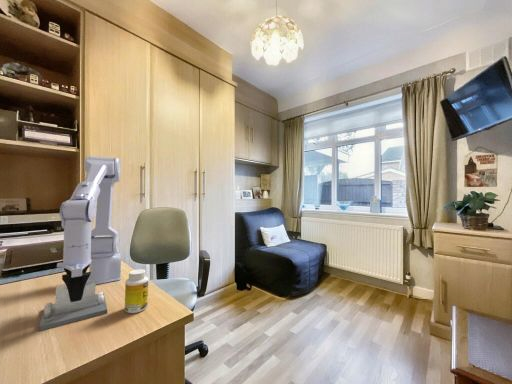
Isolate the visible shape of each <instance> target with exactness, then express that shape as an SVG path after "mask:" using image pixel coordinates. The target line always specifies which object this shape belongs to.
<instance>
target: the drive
mask: <svg viewBox="0 0 512 384" xmlns="http://www.w3.org/2000/svg"><path fill="white" fill-rule="evenodd" d="M95 295H96V285H95V279H92V280H87V282H86V284H85V288H84V292H83V296H82V299H81V300H80V301H75V302H71V301H70V298H69V293H68V289H67V286H66V284H65V283H64V284H59V285H56V289H55V302H54V303H55V315H59V314H63V313H67V312H72V311H76V310H80V309H84V308H88V307H92V306H95Z"/></svg>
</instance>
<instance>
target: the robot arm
mask: <svg viewBox="0 0 512 384" xmlns="http://www.w3.org/2000/svg"><path fill="white" fill-rule="evenodd" d="M121 166H122V165H121V160H120V159H119V157H104V156H103V157H102V156H91V155H87V157H85V159H84V162H83V167H84V171H85V173H86V175H85V177H84V181H81V182H79V183H78V184H77V185H76V187H75V189H74V191H73V193H72V195H71V196H70V198H69V199H68V200H67V199H66V201H63V202H62V203H61V205H60V208H59V218H60V221H61V228H62V229H63V249H62V251H63V254H62V257H63V260H62V261H63V262H57V263H56V268H63V270H64V272H65V274H62V276H61V279H62V281H63V282H64V284H66V286H67V289H68V293H69V298H70V301H71V302H75V301H80V300H81V299H82V296H83V292H84V288H85V284H86V282H87V280H92V279H95V286H96V285H100V284H106V283H111V282H116V281H120V280H121V276H122V275H121V273H122V257H121V253H118V252H119V249H120V233H119V232H118V231H117V230H116V229H114V228H113V227H112V213H113V212H112V211H113V197H114V196H113V195H114V187H115V183H119V182H120V179H121V171H122V167H121ZM94 218H95V219H94ZM94 220H95V226H94V228H93V229H92V222H93V221H94Z"/></svg>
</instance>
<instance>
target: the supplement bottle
mask: <svg viewBox="0 0 512 384" xmlns="http://www.w3.org/2000/svg"><path fill="white" fill-rule="evenodd" d="M124 288H125V290H124V291H125V293H124V294H125V295H124V310H125V312H126V313H127V314H136V313H140V312H142V311H144V310H145V309H147V308H148V303H149V301H148V300H149V277H148V276H146V270H145V269H142V268H138V269H134V270H130V271H129V274H128V278H127V279H126V281H125V287H124Z"/></svg>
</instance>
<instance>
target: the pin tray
mask: <svg viewBox="0 0 512 384" xmlns="http://www.w3.org/2000/svg"><path fill="white" fill-rule="evenodd" d="M105 314H108V306H107V302H106V298H105V293H104V291H98V293H97V294H96V293H95V306H92V307H88V308H84V309H80V310H76V311H72V312H67V313H63V314H59V315H55V302H54V303H53V302H47V303H46V304H45V305H44V309H43V311H42V315H41V318H40V322H39V324H38V332H42V331H45V330H49V329H52V328H55V327H60V326H64V325H68V324H72V323H76V322H78V321H82V320H86V319H90V318H94V317H98V316H102V315H105Z"/></svg>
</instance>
